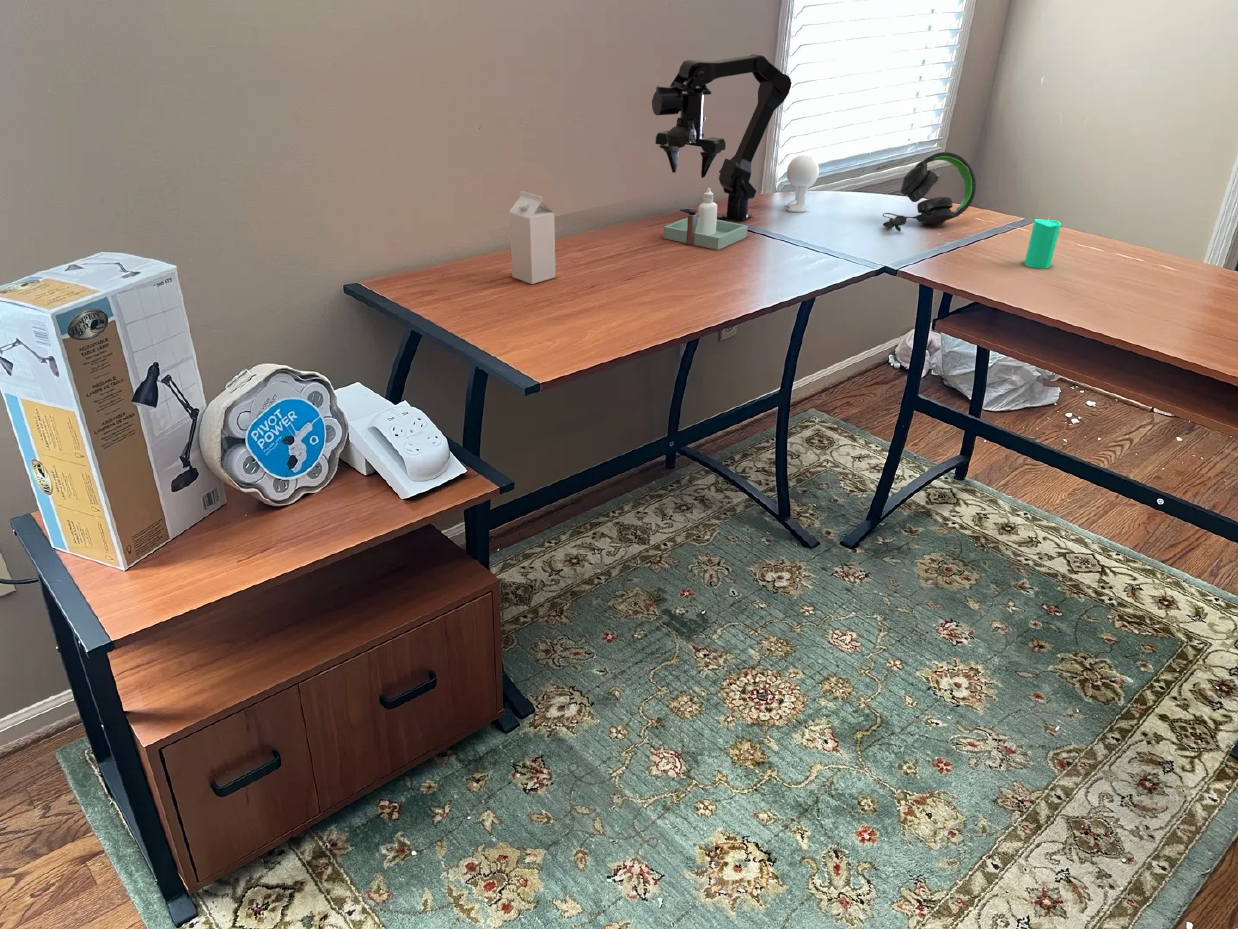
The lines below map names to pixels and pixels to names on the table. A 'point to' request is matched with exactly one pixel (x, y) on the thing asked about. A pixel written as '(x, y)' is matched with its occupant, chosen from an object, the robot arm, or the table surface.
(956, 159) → the headset
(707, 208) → the eye dropper bottle
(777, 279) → the table surface
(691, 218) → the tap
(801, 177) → the toy character
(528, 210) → the milk carton
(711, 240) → the green tray
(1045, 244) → the candle
